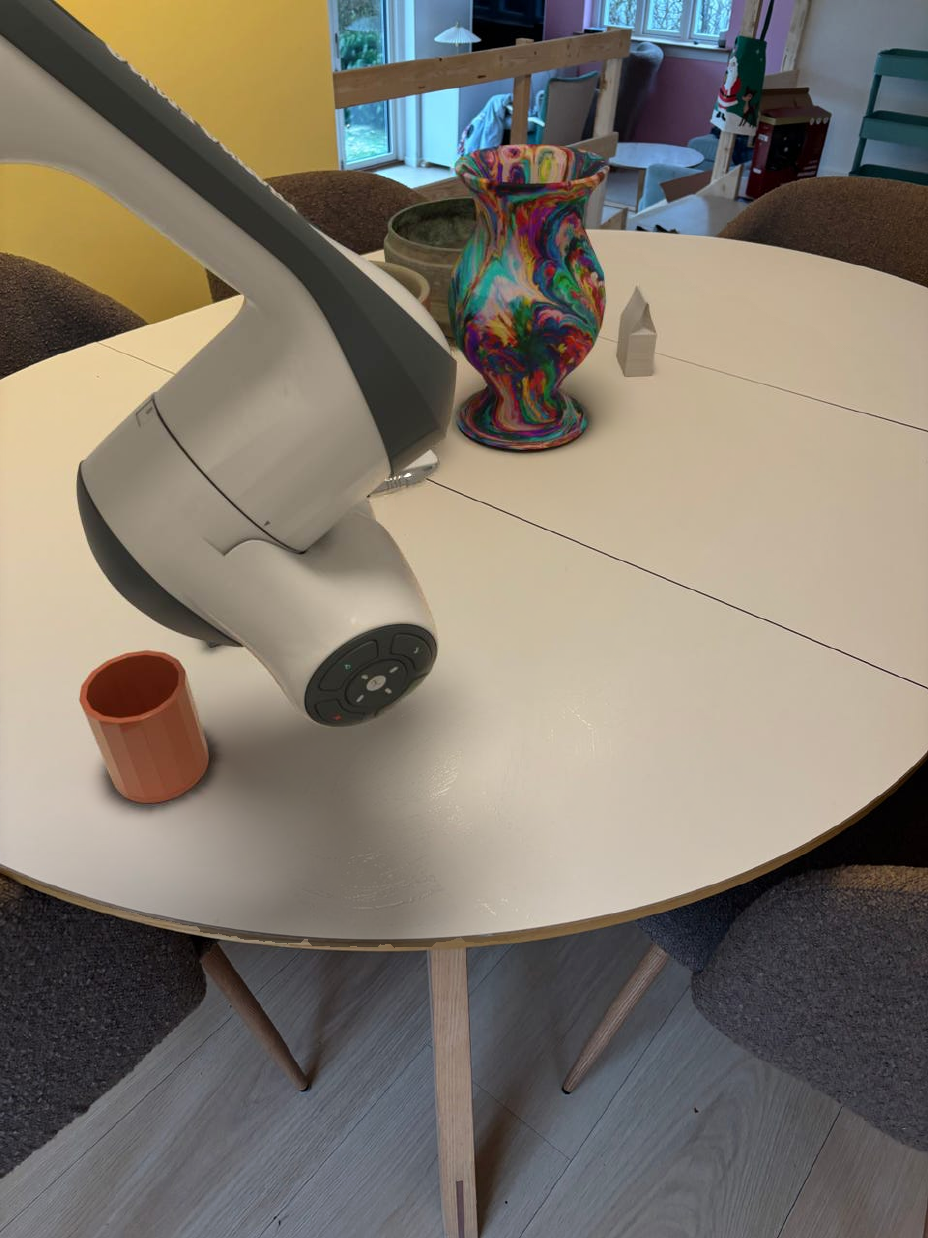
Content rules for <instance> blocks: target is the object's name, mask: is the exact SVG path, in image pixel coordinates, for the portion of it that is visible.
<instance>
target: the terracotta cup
mask: <svg viewBox="0 0 928 1238" xmlns="http://www.w3.org/2000/svg"><path fill="white" fill-rule="evenodd" d="M78 701H79V704H80V706H81V709H82V711H83V713H84V716H85V718H86V721H87V723H88V726H89V729H90V730H91V733H92V736H93V738H94V740H95V743H96V745H97V747H98V751H99V752H100V755H101V758H102V760H103V762H104V764H105V767H106V769H107V772H108V774H109V776H110V778H111V780H112V781H111V782H112V783H113V785H114V788H115V789H116V791H117V792H118V793H119V795H122V796H123V797H124V798H126V799H128V800H130V801H133V802H137V803H142V804H155V803H161V802H166V801H169V800H172V799H174V798H177V797H179V796H181V795H183V794H185V793H186V792H188V791H189V790H191V789H192V788H193V787H194V786H195V785H197V783H199V781H200V780H201V779H202V777H203V776H204V774H205V772H206V771H207V768H208V765H209V760H210V755H209V750H208V743H207V740H206V737H205V733H204V729H203V725H202V722H201V719H200V715H199V711H198V710H197V709H198V708H197V706H196V702H195V698H194V695H193V692H192V689H191V685H190V681H189V678H188V674H187V671H186V669H185V668H184V666H183V665H182V663H181V661H180V660H179V659H177V658H176V657H174V656H173V655H171V654H169V653H166V652H164V651H156V650H149V649H147V650H146V649H145V650H137V651H131V652H125V653H123V654H121V655H118V656H116V657H112V658H110V659H108V660H106V661H104V662H103V663H102V664H100V665H99V666H97V667H96V668H94V669H93V670H92V671H91V672H90V673H89V675H88V676H87V677H86V679H85V680H84V681H83V683H82V684H81V687H80V692H79V697H78Z"/></svg>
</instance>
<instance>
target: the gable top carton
mask: <svg viewBox="0 0 928 1238" xmlns="http://www.w3.org/2000/svg"><path fill="white" fill-rule="evenodd" d="M657 339H658V333H657V330H656V327H655V324H654V322H653V319H652V316H651V311H650V304H649V302H648V300H647V298H646V296H645V294H644V292H643V290H642V288H641V287H640V285H636V286H635V288H634V291H633V292H632V295H631V296H630V299H629V300H628V302H627V304H626V305H625V307H624V309H623V311H622V312H621V314H620V318H619V326H618V337H617V343H616V344H617V346H616V355H615V356H616V359H617V361H618V364H619V366H620V368H621V371H622V374H623V376H624V377H651V376H652V375H653V367H654V359H655V352H656V345H657Z"/></svg>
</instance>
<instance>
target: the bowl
mask: <svg viewBox="0 0 928 1238" xmlns="http://www.w3.org/2000/svg"><path fill="white" fill-rule="evenodd" d="M476 222H477V221H476V204H475V201H474V199H473V197H472V196H459V197H448V198H447V197H446V198H441V199H436V200H434V199H433V200H428V201H425V202H421V203H418V204H414V205H410V206H408V207H405V208H403V209H400V210H399V211H398V212H396V213H395V214H393V215H392V216H391V217H390V218H389V220H388V222H387V231H388V233H386V235H385V237H384V239H383V256H384V262H387V263H392V264H396V265H400V266H403V267H406V268H408V269H411V270H413V271H415V272H417V273H419V274H420V275H421V276H423V277H424V278H425V279H426V280H427V282H428V284H429V287H430V315H431V316H432V317H433V319H434V320H435V322H436V323H437V324H438V326H439V328H440V329H441V331H442V333H443V335H444V336H445V337H447V338H452V339H455V338H454V335H453V332H452V328H451V325H450V321H449V310H448V299H447V297H448V291H449V285H450V278H451V272H452V269H453V267H454V265H455V264H456V262H457V260H458V258H459V256H460V254H461V252H462V250H463V248H464V247H465V245H466V243H467V241H468V239H469V236H470V234H471V232H472V230H473V228H474V226H475V224H476Z"/></svg>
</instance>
